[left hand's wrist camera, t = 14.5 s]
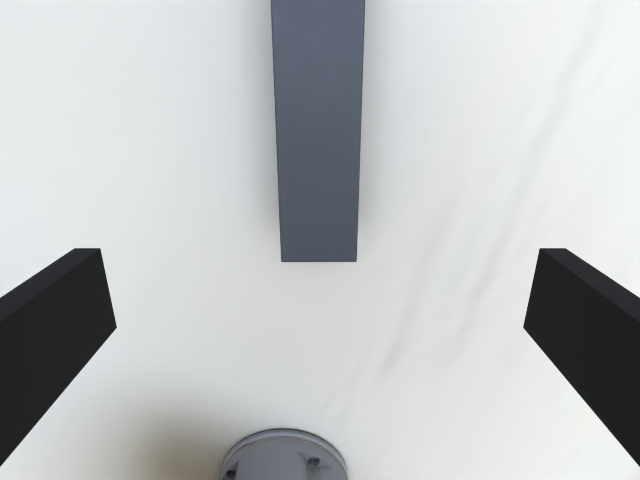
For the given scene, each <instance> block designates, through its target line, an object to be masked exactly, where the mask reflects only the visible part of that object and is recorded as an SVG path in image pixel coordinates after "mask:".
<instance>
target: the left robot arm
mask: <svg viewBox="0 0 640 480" xmlns="http://www.w3.org/2000/svg"><path fill="white" fill-rule="evenodd" d="M116 328H117V326H116V322H115V317H114V312H113V307H112V302H111V298H110V293H109V288H108V283H107V279H106V274H105V269H104V264H103V259H102V255H101V250H100V248H74V249H73V250H71V251H70V252H68V253H67V254H65V255H64V256H62V257H61V258H59V259H58V260H56V261H55V262H53V263H52V264H50V265H49V266H47V267H46V268H44V269H43V270H41V271H40V272H38V273H37V274H35V275H34V276H32V277H31V278H29V279H28V280H26V281H25V282H23V283H22V284H20V285H19V286H17V287H16V288H14V289H13V290H11V291H10V292H8V293H7V294H5V295H4V296H2V297H1V298H0V466H1V465H2V464H3V463H4V462H5V460H6V459H7V458H8V457H9V456H10V454H11V453H12V452H13V451H14V450H15V448H16V447H17V446H18V445H19V444H20V443H21V441H22V440H23V439H24V438H25V437H26V435H27V434H28V433H29V432H30V431H31V429H32V428H33V427H34V426H35V425H36V423H37V422H38V421H39V420H40V419H41V417H42V416H43V415H44V414H45V413H46V411H47V410H48V409H49V408H50V407H51V405H52V404H53V403H54V402H55V401H56V400H57V398H58V397H59V396H60V395H61V394H62V392H63V391H64V390H65V389H66V388H67V386H68V385H69V384H70V383H71V382H72V380H73V379H74V378H75V377H76V376H77V374H78V373H79V372H80V371H81V370H82V368H83V367H84V366H85V365H86V364H87V362H88V361H89V360H90V359H91V358H92V356H93V355H94V354H95V353H96V352H97V351H98V349H99V348H100V347H101V346H102V345H103V343H104V342H105V341H106V340H107V339H108V337H109V336H110V335H111V334H112V333H113V331H114V330H115V329H116ZM523 328H524V329H525V330H526V331H527V333H528V334H529V335H530V336H531V337H532V339H533V340H534V341H535V342H536V343H537V345H538V346H539V347H540V348H541V349H542V351H543V352H544V353H545V354H546V355H547V356H548V358H549V359H550V360H551V361H552V362H553V364H554V365H555V366H556V367H557V368H558V370H559V371H560V372H561V373H562V374H563V376H564V377H565V378H566V379H567V380H568V382H569V383H570V384H571V385H572V386H573V388H574V389H575V390H576V391H577V392H578V394H579V395H580V396H581V397H582V398H583V400H584V401H585V402H586V403H587V404H588V405H589V407H590V408H591V409H592V410H593V411H594V413H595V414H596V415H597V416H598V417H599V419H600V420H601V421H602V422H603V423H604V425H605V426H606V427H607V428H608V429H609V431H610V432H611V433H612V434H613V435H614V437H615V438H616V439H617V440H618V441H619V442H620V444H621V445H622V446H623V447H624V448H625V450H626V451H627V452H628V453H629V454H630V456H631V457H632V458H633V459H634V460H635V462H636V463H637V464H638V465H639V466H640V298H639V297H638V296H636V295H635V294H633V293H632V292H630V291H629V290H627V289H626V288H624V287H623V286H621V285H620V284H618V283H617V282H615V281H614V280H612V279H611V278H609V277H608V276H606V275H605V274H603V273H602V272H600V271H599V270H597V269H596V268H594V267H593V266H591V265H590V264H588V263H587V262H585V261H584V260H582V259H581V258H579V257H578V256H576V255H575V254H573V253H572V252H570V251H569V250H567V249H566V248H540V250H539V255H538V259H537V264H536V269H535V274H534V279H533V283H532V288H531V293H530V298H529V302H528V307H527V312H526V317H525V322H524V326H523ZM219 480H348V474H347V468H346V465H345V462H344V460H343V459H342V457H341V455H340V454H339V453H338V452H337V450H336V449H335V448H334V447H332V446H331V445H330V444H329V443H327V442H326V441H324V440H322V439H321V438H319V437H316V436H314V435H311V434H309V433H305V432H301V431H296V430H285V429H280V430H269V431H264V432H260V433H257V434H254V435H251V436H249V437H247V438H245V439H243V440H242V441H240V442H239V443H238V444H236V445H235V446H234V447H233V448H232V449H231V450H230V451H229V453H228V454H227V456H226V458H225V459H224V462H223V465H222V469H221V473H220V477H219Z"/></svg>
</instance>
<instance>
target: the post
mask: <svg viewBox="0 0 640 480" xmlns="http://www.w3.org/2000/svg"><path fill="white" fill-rule="evenodd" d="M364 17H365V0H271V18H272V43H273V68H274V93H275V118H276V143H277V168H278V193H279V218H280V243H281V262H356V261H357V232H358V202H359V171H360V140H361V109H362V79H363V48H364Z"/></svg>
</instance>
